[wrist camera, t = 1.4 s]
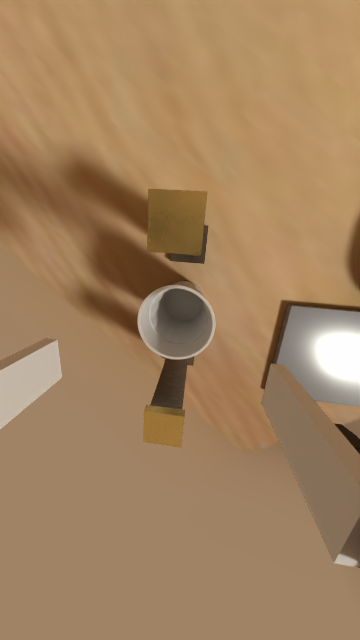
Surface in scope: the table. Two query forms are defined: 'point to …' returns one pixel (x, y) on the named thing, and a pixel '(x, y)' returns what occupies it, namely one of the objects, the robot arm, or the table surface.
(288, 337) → the pad
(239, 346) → the table surface
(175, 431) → the post
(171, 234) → the post
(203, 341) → the cup
